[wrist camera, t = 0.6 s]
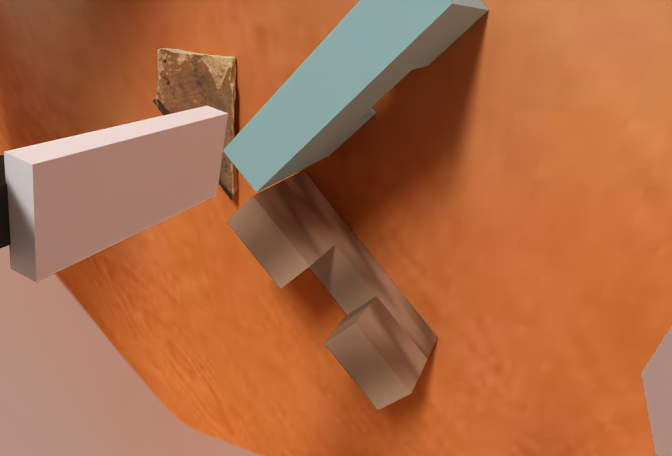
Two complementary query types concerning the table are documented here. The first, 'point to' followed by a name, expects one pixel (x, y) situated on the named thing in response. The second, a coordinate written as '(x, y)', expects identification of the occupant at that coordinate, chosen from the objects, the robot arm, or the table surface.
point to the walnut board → (339, 285)
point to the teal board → (345, 83)
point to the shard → (200, 94)
